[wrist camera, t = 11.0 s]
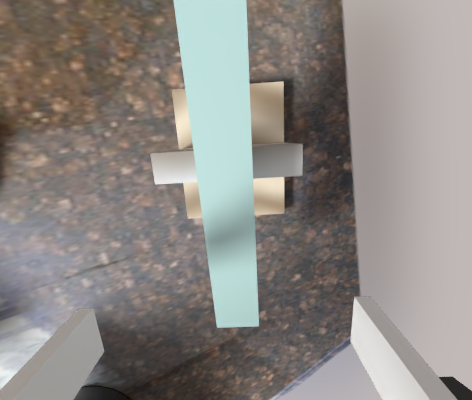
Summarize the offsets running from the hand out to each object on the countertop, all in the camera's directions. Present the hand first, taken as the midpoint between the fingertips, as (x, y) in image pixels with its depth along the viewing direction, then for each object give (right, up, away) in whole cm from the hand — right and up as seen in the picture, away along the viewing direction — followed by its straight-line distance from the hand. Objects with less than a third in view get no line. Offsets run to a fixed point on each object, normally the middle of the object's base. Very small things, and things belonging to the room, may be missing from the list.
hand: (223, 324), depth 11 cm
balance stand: (0, +12, +18) cm, 22 cm away
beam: (0, +9, +6) cm, 11 cm away
